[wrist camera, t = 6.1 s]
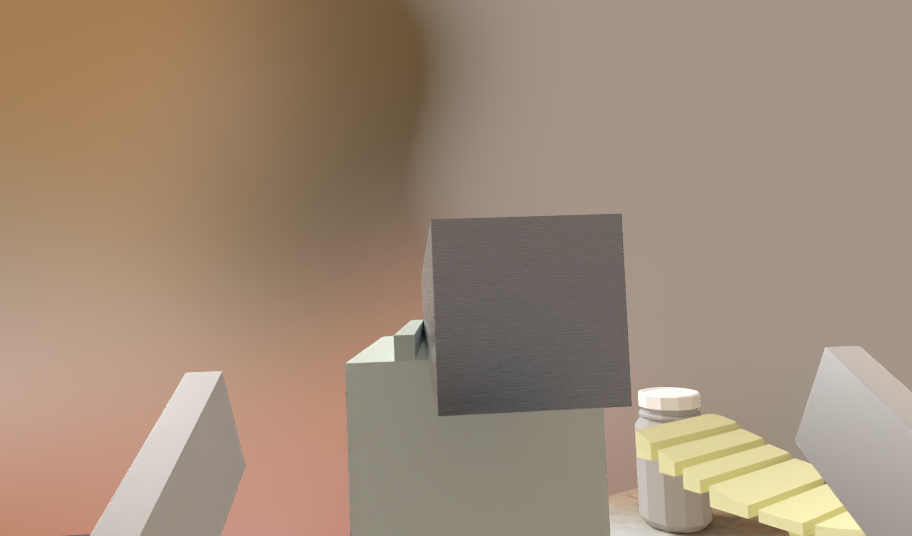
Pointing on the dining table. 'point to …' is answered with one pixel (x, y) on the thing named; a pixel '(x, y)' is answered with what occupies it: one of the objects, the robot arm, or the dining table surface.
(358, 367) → the stand
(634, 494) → the dining table surface
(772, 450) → the slatted curved stool
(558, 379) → the bar
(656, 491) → the jar
